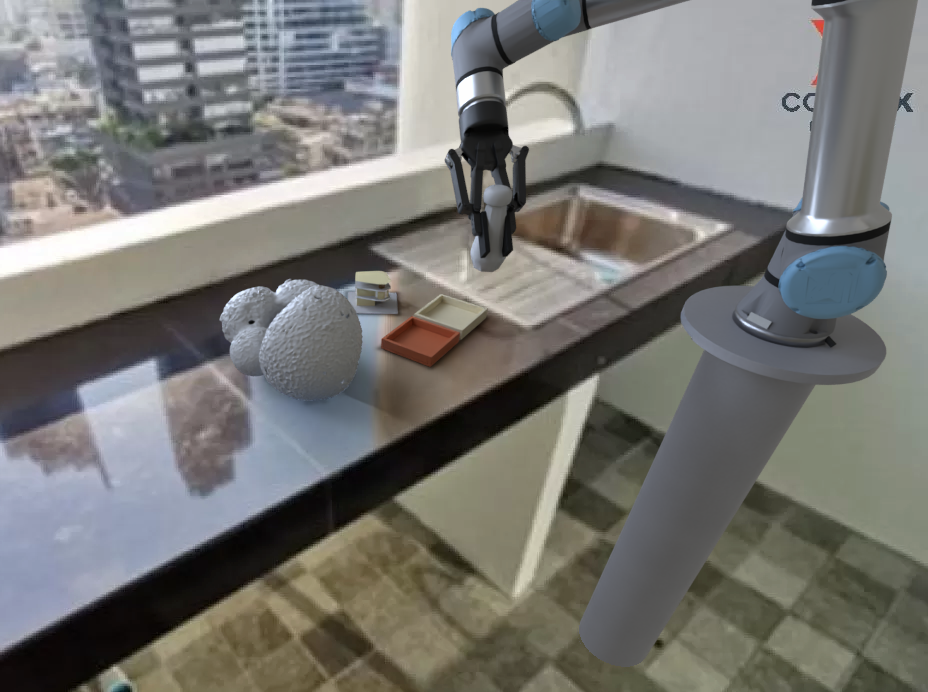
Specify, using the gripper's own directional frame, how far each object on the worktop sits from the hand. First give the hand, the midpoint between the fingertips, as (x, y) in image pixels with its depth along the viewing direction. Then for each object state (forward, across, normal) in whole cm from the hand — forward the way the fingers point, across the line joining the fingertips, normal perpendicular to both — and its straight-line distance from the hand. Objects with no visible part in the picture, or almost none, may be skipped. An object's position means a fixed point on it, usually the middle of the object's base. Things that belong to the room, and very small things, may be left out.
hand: (496, 253), depth 95 cm
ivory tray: (+5, +2, -21) cm, 22 cm away
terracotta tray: (+10, +10, -15) cm, 21 cm away
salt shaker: (0, 0, -6) cm, 6 cm away
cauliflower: (+16, +32, -10) cm, 37 cm away
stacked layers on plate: (-1, +16, -27) cm, 32 cm away
